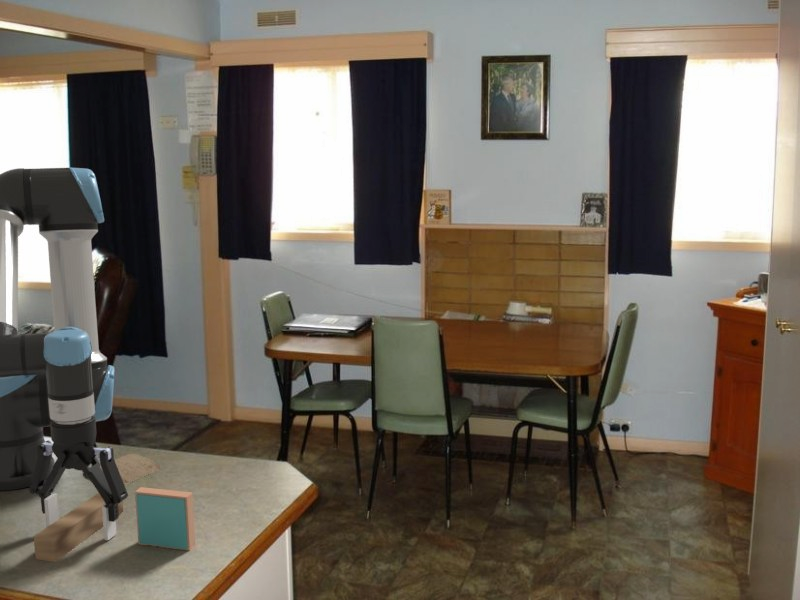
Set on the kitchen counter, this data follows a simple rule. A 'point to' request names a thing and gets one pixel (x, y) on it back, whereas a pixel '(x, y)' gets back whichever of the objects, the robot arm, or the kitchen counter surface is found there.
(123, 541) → the kitchen counter surface
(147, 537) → the terracotta tile
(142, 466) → the curved brown bark piece
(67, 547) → the walnut stick
